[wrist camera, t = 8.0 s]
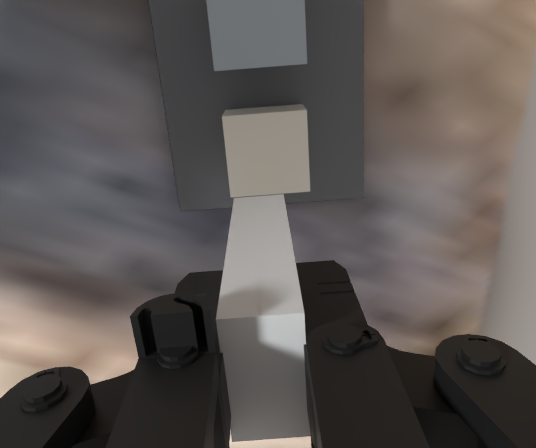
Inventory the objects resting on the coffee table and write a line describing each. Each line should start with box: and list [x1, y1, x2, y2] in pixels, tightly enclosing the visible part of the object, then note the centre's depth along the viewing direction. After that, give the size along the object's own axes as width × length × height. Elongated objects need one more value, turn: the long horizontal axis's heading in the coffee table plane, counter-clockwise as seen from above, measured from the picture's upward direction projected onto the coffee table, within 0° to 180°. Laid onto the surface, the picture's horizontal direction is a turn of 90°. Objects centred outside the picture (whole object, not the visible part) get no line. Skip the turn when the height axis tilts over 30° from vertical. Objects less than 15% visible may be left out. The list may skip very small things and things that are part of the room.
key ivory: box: [222, 104, 310, 197], centre depth 28 cm, size 5×5×5 cm
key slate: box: [206, 0, 307, 71], centre depth 24 cm, size 5×5×5 cm
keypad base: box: [148, 0, 363, 211], centre depth 27 cm, size 12×22×2 cm, turn 4°
